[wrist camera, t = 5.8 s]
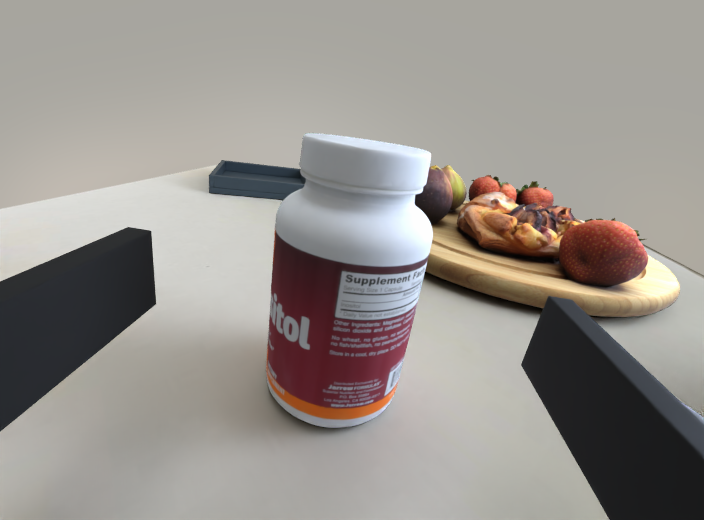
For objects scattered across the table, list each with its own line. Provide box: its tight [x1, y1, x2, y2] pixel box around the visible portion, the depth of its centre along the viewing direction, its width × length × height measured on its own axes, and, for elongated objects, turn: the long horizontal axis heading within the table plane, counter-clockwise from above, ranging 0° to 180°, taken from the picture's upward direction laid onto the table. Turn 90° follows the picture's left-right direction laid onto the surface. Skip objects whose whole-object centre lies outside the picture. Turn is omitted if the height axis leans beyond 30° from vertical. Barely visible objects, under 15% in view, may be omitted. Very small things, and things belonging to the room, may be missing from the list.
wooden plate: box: [415, 165, 680, 317], centre depth 40 cm, size 32×32×8 cm
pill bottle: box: [266, 133, 433, 428], centre depth 15 cm, size 6×6×11 cm
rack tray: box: [209, 160, 306, 200], centre depth 53 cm, size 13×13×2 cm
